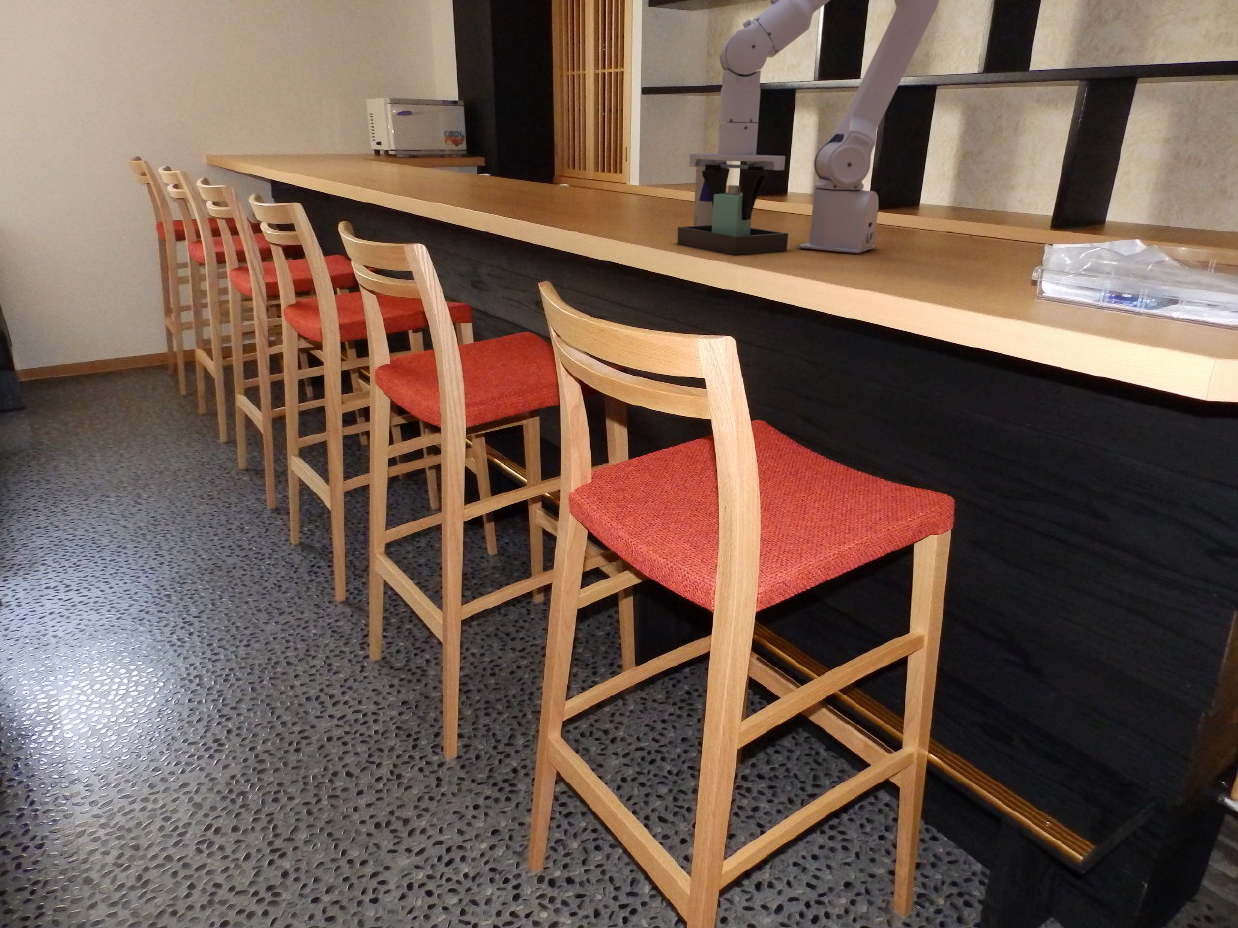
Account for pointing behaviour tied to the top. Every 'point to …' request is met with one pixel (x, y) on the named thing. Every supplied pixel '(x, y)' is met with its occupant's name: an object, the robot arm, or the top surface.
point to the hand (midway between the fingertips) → (732, 218)
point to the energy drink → (702, 200)
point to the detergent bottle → (730, 213)
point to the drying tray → (733, 240)
